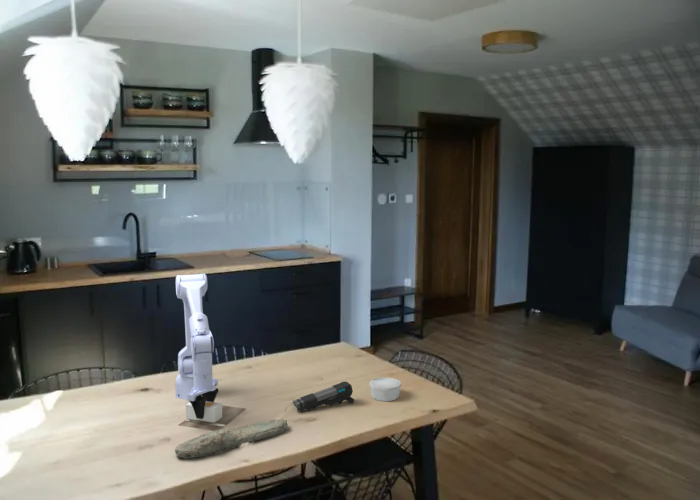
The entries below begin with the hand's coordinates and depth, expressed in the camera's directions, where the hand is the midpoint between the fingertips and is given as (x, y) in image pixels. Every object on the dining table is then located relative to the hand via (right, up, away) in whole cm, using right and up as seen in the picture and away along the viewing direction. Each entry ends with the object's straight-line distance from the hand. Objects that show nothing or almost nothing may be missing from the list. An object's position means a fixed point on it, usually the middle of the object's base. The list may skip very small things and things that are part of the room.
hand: (204, 415), depth 186 cm
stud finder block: (0, -1, 0) cm, 1 cm away
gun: (+37, -2, +15) cm, 40 cm away
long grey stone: (+12, -5, -12) cm, 17 cm away
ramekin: (+58, 0, +24) cm, 62 cm away
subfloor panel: (+2, -3, +4) cm, 5 cm away
